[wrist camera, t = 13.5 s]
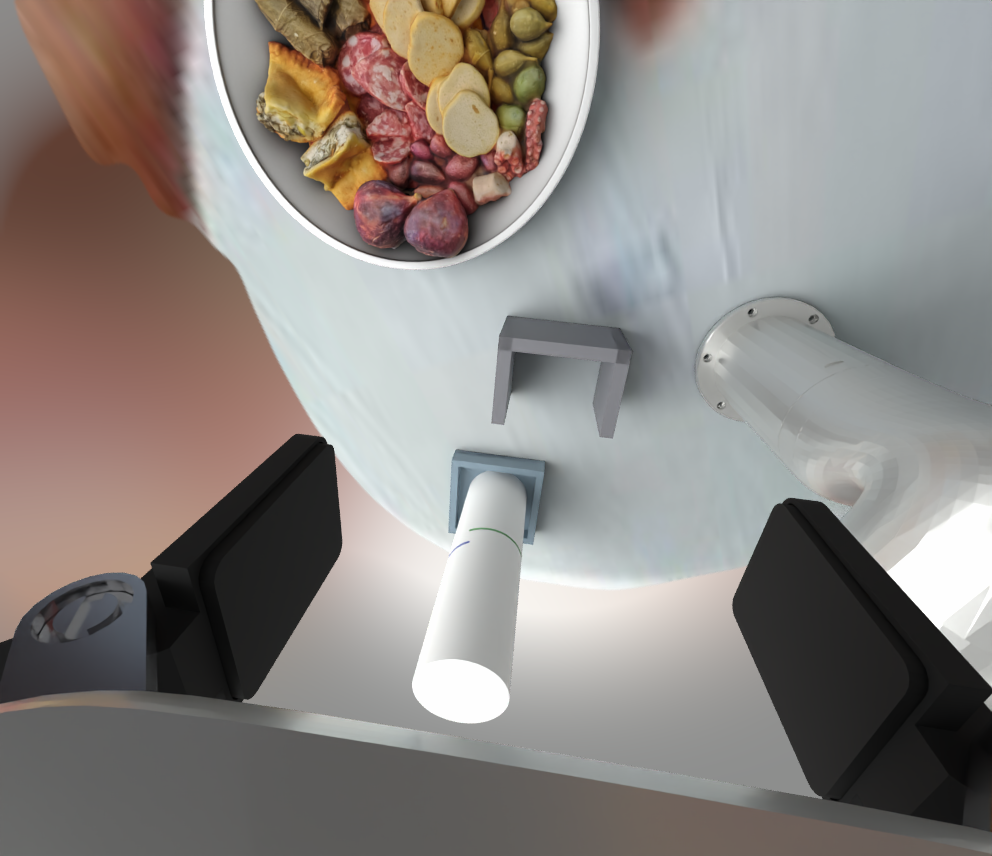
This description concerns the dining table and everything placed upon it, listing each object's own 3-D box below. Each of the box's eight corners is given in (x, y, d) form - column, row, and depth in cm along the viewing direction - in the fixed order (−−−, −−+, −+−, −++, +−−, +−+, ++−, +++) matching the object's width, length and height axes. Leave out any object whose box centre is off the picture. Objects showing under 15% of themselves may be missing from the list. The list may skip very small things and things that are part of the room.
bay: (619, 328, 45) (632, 351, 38) (603, 404, 49) (612, 438, 42) (507, 315, 46) (499, 336, 39) (500, 392, 50) (491, 423, 43)
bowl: (177, -93, 35) (84, -166, 28) (558, -274, 29) (560, -425, 22) (325, 293, 48) (286, 308, 40) (616, 221, 41) (629, 224, 34)
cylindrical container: (456, 486, 55) (392, 677, 33) (504, 460, 53) (470, 646, 30) (490, 527, 57) (451, 732, 35) (538, 503, 55) (528, 707, 33)
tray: (544, 461, 53) (544, 471, 51) (533, 532, 58) (532, 544, 56) (455, 449, 54) (451, 459, 52) (452, 520, 58) (448, 532, 56)
